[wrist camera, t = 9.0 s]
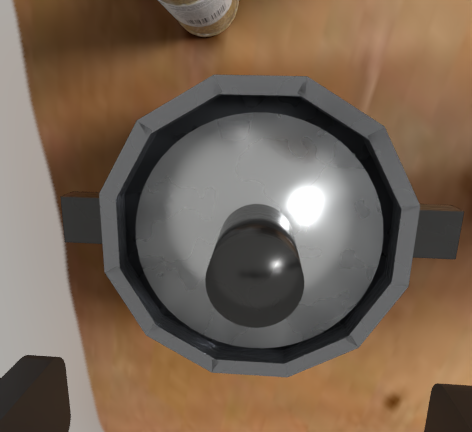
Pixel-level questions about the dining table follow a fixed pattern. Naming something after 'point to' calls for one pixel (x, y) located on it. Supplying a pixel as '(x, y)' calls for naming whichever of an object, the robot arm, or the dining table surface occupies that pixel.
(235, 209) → the lid
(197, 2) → the sprinkles bottle
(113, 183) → the pot
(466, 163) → the dining table surface
